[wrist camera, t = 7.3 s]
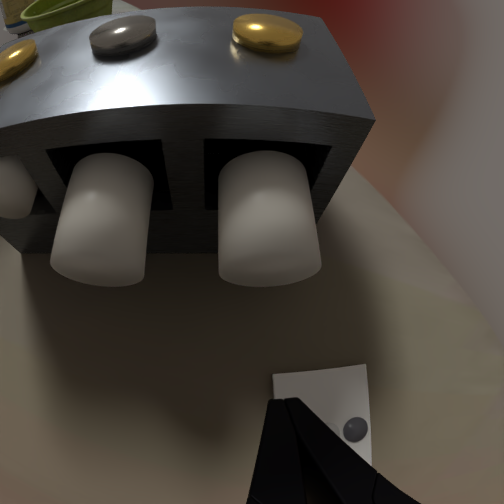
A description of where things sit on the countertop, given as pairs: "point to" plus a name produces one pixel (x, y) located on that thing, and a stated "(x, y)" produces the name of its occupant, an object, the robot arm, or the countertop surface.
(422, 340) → the countertop surface
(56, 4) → the plant pot
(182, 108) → the console
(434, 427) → the countertop surface
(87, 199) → the button
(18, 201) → the button
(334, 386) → the card
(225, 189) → the button
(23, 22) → the supplement tub
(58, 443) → the countertop surface
